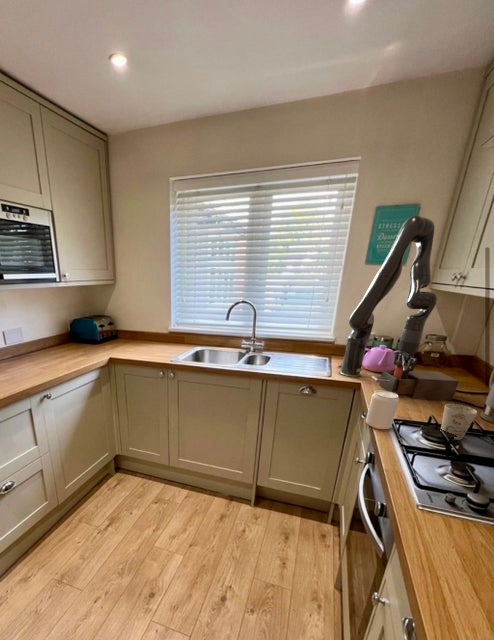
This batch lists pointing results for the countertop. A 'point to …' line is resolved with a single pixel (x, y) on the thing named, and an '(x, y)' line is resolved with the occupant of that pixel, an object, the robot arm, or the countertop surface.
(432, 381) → the cabinet
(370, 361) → the teapot
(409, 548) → the countertop surface
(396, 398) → the white canister
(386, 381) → the drawer
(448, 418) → the mug
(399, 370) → the ramekin
